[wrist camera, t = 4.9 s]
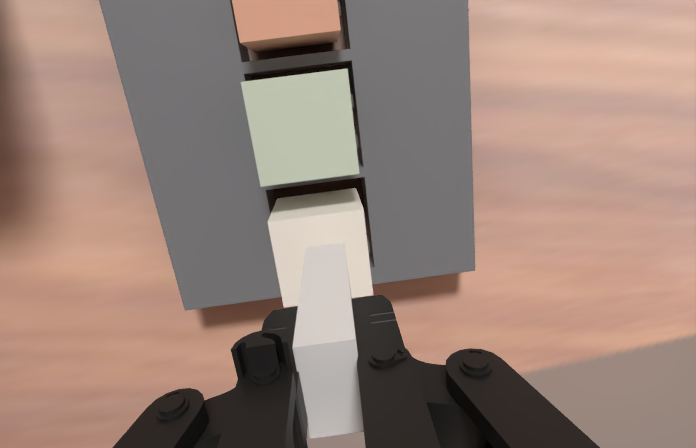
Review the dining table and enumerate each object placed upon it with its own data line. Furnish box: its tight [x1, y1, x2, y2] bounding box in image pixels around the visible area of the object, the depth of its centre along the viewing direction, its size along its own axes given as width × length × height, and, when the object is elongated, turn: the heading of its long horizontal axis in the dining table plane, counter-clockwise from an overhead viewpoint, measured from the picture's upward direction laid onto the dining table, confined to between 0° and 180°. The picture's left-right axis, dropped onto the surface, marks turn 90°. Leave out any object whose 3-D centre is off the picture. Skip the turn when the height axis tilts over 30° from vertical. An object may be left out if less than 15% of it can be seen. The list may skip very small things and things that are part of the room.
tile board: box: [99, 0, 475, 310], centre depth 21 cm, size 16×18×2 cm
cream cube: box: [268, 188, 373, 308], centre depth 20 cm, size 4×4×4 cm
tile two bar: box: [241, 68, 360, 187], centre depth 18 cm, size 4×4×4 cm
